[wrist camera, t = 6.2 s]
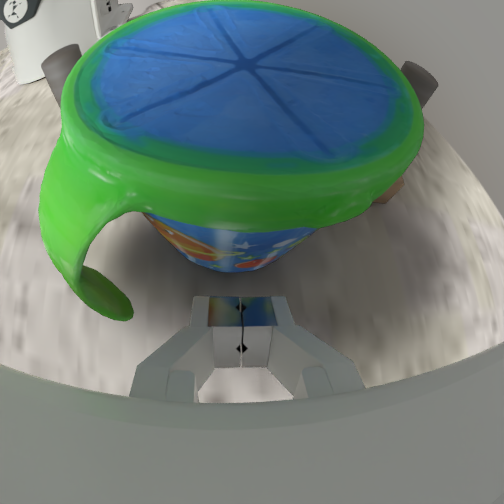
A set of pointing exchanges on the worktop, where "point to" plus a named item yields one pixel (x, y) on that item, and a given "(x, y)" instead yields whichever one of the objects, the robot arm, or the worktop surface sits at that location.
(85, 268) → the snack cup
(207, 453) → the robot arm
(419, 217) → the worktop surface
